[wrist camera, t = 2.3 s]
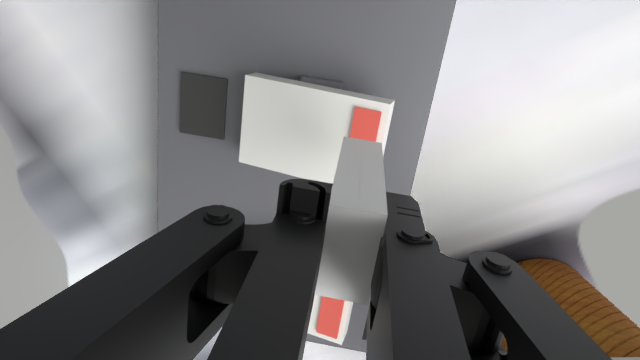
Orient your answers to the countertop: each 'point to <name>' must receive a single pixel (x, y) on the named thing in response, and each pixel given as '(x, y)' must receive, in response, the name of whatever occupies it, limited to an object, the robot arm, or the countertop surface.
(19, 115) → the countertop surface
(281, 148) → the rocker middle
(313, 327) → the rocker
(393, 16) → the power strip
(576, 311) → the disposable coffee cup
